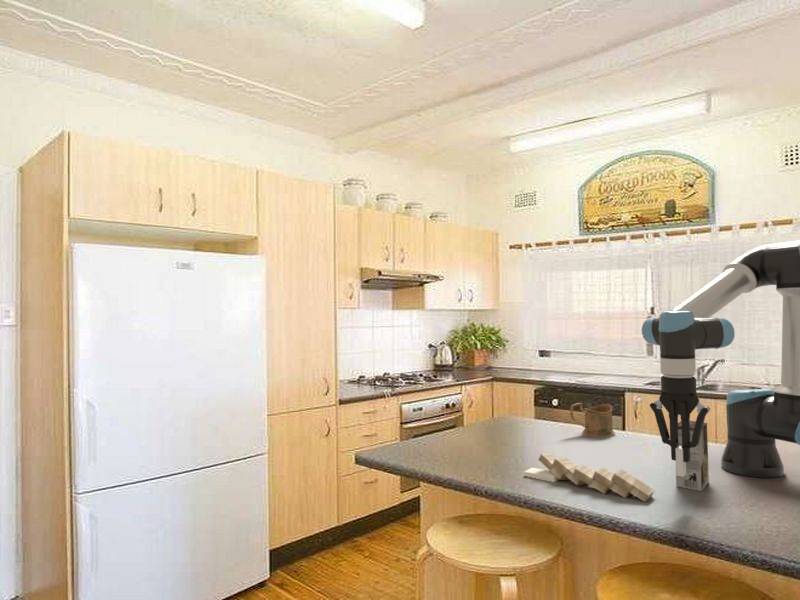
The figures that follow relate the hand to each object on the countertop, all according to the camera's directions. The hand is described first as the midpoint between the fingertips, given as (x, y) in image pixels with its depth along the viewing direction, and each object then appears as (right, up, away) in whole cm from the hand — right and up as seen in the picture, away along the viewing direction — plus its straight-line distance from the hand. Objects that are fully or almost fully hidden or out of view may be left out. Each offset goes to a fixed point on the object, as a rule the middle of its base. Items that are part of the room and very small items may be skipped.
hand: (681, 474), depth 130 cm
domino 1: (-23, -8, +21) cm, 32 cm away
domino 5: (-9, -7, +7) cm, 14 cm away
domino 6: (-5, -7, +4) cm, 10 cm away
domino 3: (-18, -7, +16) cm, 25 cm away
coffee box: (+11, -8, +15) cm, 20 cm away
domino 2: (-21, -7, +20) cm, 30 cm away
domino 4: (-13, -7, +11) cm, 18 cm away
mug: (+5, -9, +74) cm, 74 cm away
